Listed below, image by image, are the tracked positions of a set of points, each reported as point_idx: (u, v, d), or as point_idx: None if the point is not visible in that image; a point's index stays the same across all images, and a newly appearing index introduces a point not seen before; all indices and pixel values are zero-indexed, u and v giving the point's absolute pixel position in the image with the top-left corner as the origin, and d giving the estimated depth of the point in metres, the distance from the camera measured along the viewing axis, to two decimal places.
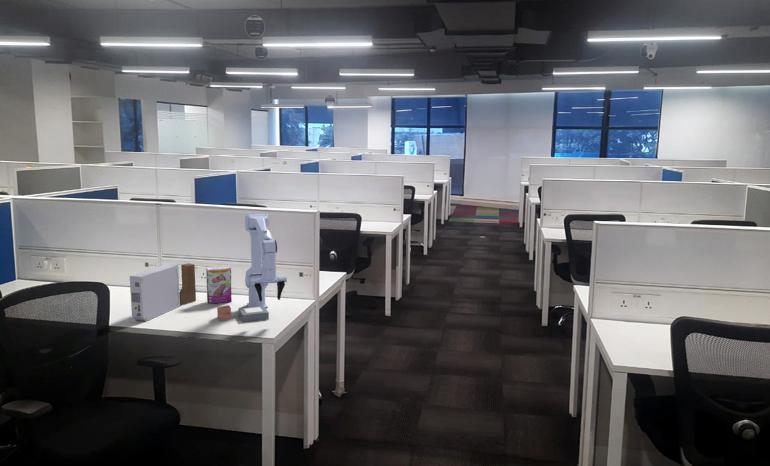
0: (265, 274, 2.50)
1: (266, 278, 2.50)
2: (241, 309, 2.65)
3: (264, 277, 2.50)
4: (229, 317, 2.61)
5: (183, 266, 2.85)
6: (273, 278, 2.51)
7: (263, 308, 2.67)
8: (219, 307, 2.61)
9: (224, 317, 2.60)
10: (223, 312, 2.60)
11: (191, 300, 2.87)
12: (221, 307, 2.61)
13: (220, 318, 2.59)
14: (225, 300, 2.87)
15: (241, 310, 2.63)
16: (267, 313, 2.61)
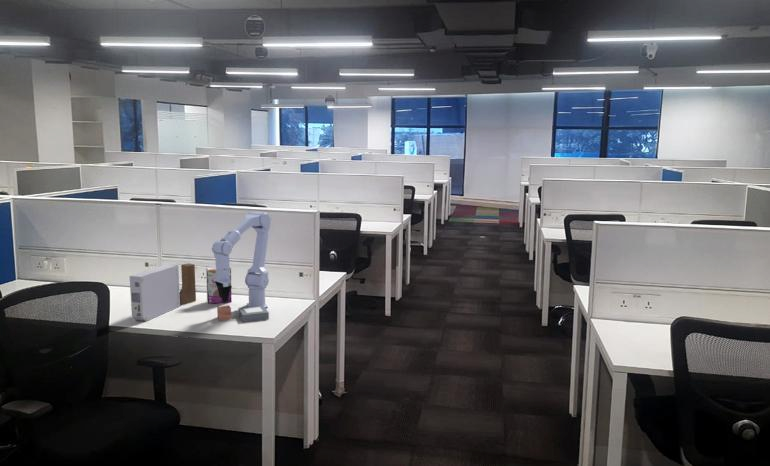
0: None
1: None
2: (241, 309, 2.65)
3: None
4: (229, 317, 2.61)
5: (183, 266, 2.85)
6: (217, 278, 2.58)
7: (263, 308, 2.67)
8: (219, 307, 2.61)
9: (224, 317, 2.60)
10: (223, 312, 2.60)
11: (191, 300, 2.87)
12: (221, 307, 2.61)
13: (220, 318, 2.59)
14: None
15: (241, 310, 2.63)
16: (267, 313, 2.61)
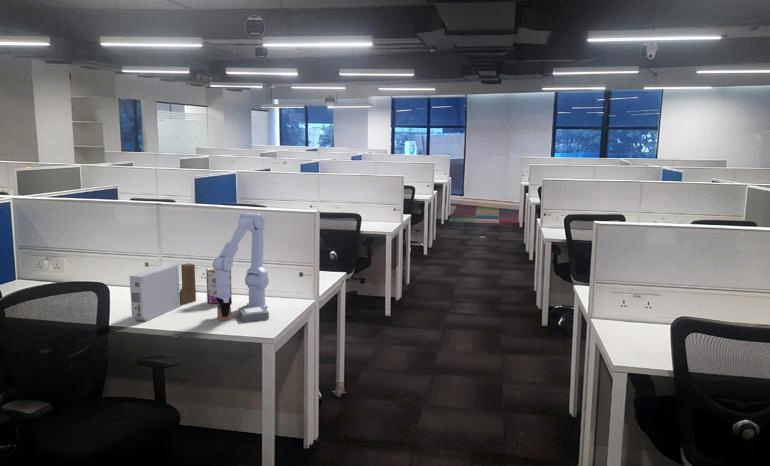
0: None
1: None
2: (241, 309, 2.65)
3: None
4: (229, 317, 2.61)
5: (183, 266, 2.85)
6: (217, 294, 2.59)
7: (263, 308, 2.67)
8: (219, 307, 2.61)
9: (224, 317, 2.60)
10: None
11: (191, 300, 2.87)
12: None
13: (220, 318, 2.59)
14: None
15: (241, 310, 2.63)
16: (267, 313, 2.61)
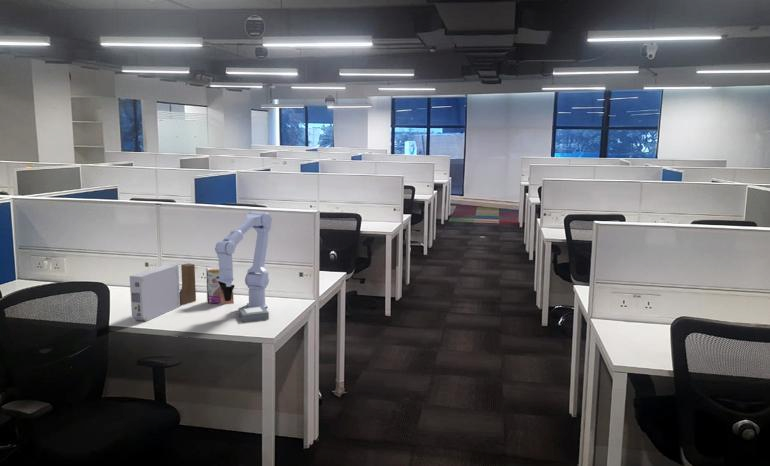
0: None
1: None
2: (241, 309, 2.65)
3: None
4: (231, 301, 2.60)
5: (183, 266, 2.85)
6: (220, 278, 2.58)
7: (263, 308, 2.67)
8: (221, 291, 2.61)
9: (226, 301, 2.59)
10: None
11: (191, 300, 2.87)
12: None
13: (222, 302, 2.59)
14: None
15: (241, 310, 2.63)
16: (267, 313, 2.61)
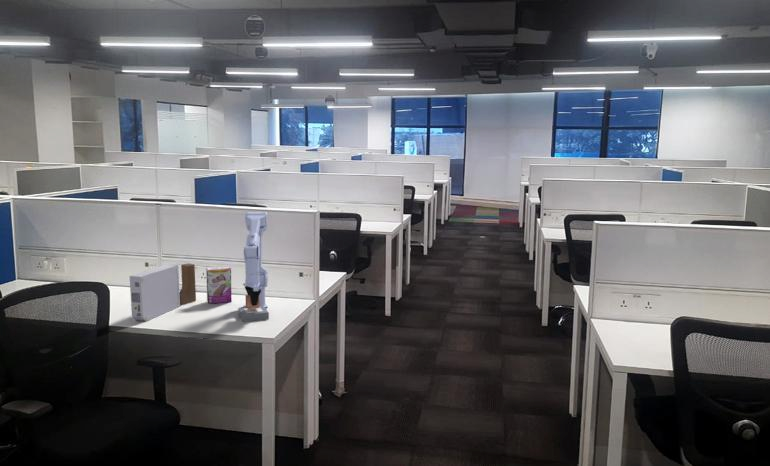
0: None
1: None
2: (241, 309, 2.65)
3: None
4: (257, 306, 2.62)
5: (183, 266, 2.85)
6: (247, 282, 2.60)
7: (263, 308, 2.67)
8: (247, 296, 2.63)
9: (253, 306, 2.61)
10: None
11: (191, 300, 2.87)
12: (249, 296, 2.63)
13: (249, 307, 2.61)
14: (225, 300, 2.87)
15: (241, 310, 2.63)
16: (267, 313, 2.61)
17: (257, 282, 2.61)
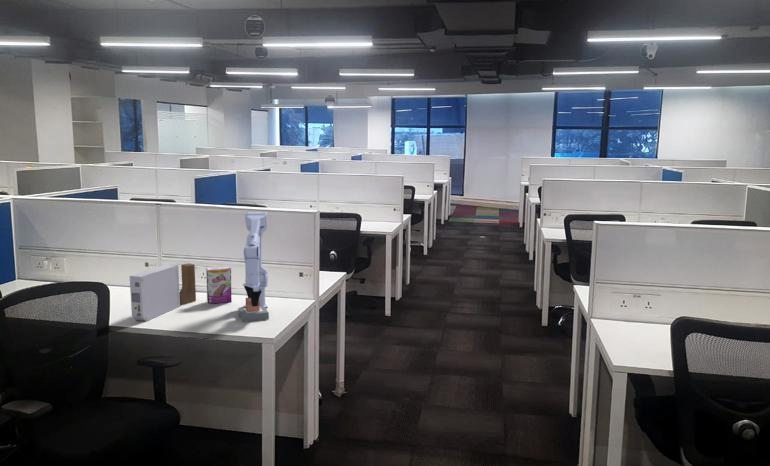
0: None
1: None
2: (241, 309, 2.65)
3: None
4: (258, 308, 2.62)
5: (183, 266, 2.85)
6: (247, 283, 2.60)
7: (263, 308, 2.67)
8: (248, 299, 2.63)
9: (253, 308, 2.61)
10: None
11: (191, 300, 2.87)
12: (249, 299, 2.63)
13: (249, 309, 2.61)
14: (225, 300, 2.87)
15: (241, 310, 2.63)
16: (267, 313, 2.61)
17: (257, 282, 2.61)
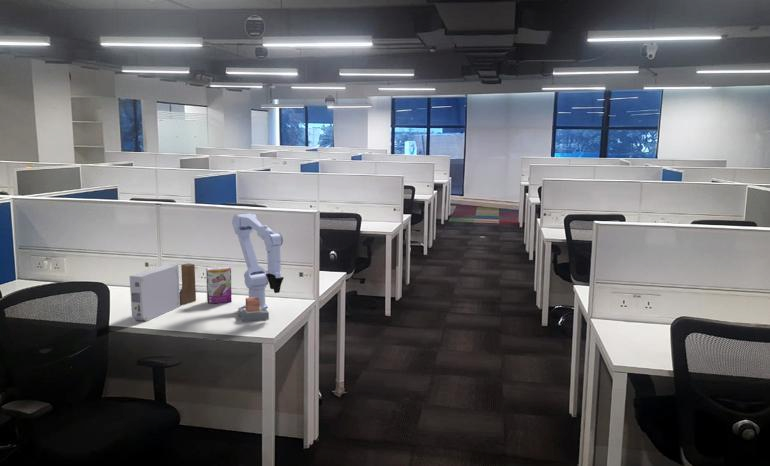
0: None
1: None
2: (241, 309, 2.65)
3: None
4: (258, 308, 2.62)
5: (183, 266, 2.85)
6: (269, 270, 2.65)
7: (263, 308, 2.67)
8: (248, 299, 2.63)
9: (253, 308, 2.61)
10: (252, 303, 2.61)
11: (191, 300, 2.87)
12: (249, 299, 2.63)
13: (249, 309, 2.61)
14: (225, 300, 2.87)
15: (241, 310, 2.63)
16: (267, 313, 2.61)
17: (279, 269, 2.66)
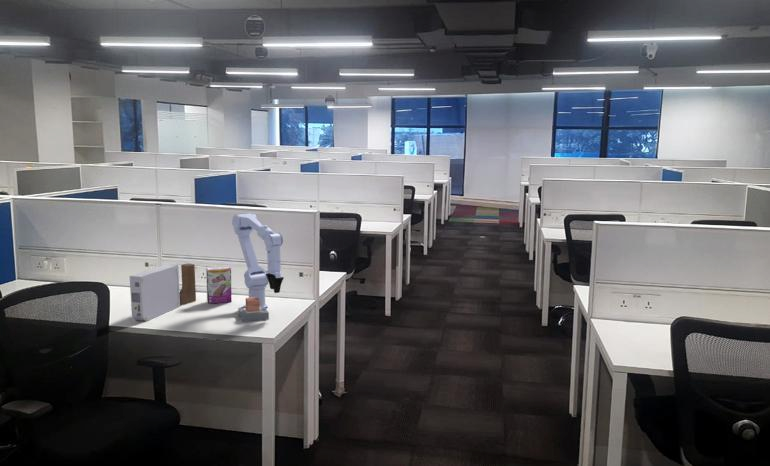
0: None
1: None
2: (241, 309, 2.65)
3: None
4: (258, 308, 2.62)
5: (183, 266, 2.85)
6: (269, 270, 2.65)
7: (263, 308, 2.67)
8: (248, 299, 2.63)
9: (253, 308, 2.61)
10: (252, 303, 2.61)
11: (191, 300, 2.87)
12: (249, 299, 2.63)
13: (249, 309, 2.61)
14: (225, 300, 2.87)
15: (241, 310, 2.63)
16: (267, 313, 2.61)
17: (279, 269, 2.66)
